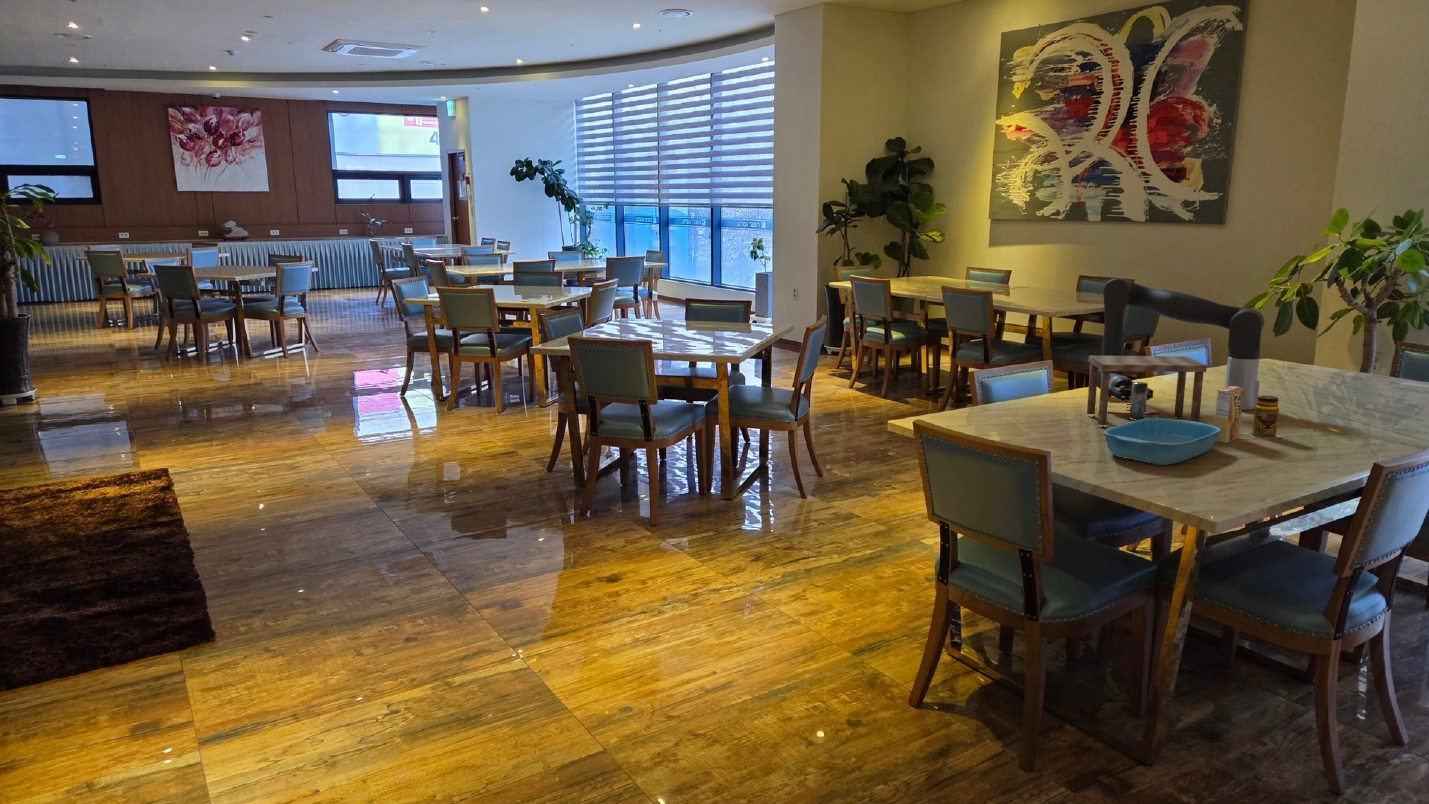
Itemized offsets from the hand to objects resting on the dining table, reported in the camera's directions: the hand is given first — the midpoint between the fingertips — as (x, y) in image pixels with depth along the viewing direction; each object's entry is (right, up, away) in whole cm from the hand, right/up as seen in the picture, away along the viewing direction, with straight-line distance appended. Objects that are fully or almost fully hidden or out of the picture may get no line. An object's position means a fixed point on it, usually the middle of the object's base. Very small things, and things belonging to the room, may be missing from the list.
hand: (1134, 396), depth 299 cm
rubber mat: (+2, -4, +13) cm, 14 cm away
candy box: (+13, -13, -30) cm, 35 cm away
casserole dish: (-12, -16, -43) cm, 47 cm away
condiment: (+26, -12, -26) cm, 39 cm away
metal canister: (-1, -7, -3) cm, 8 cm away
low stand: (-1, -8, -7) cm, 11 cm away
